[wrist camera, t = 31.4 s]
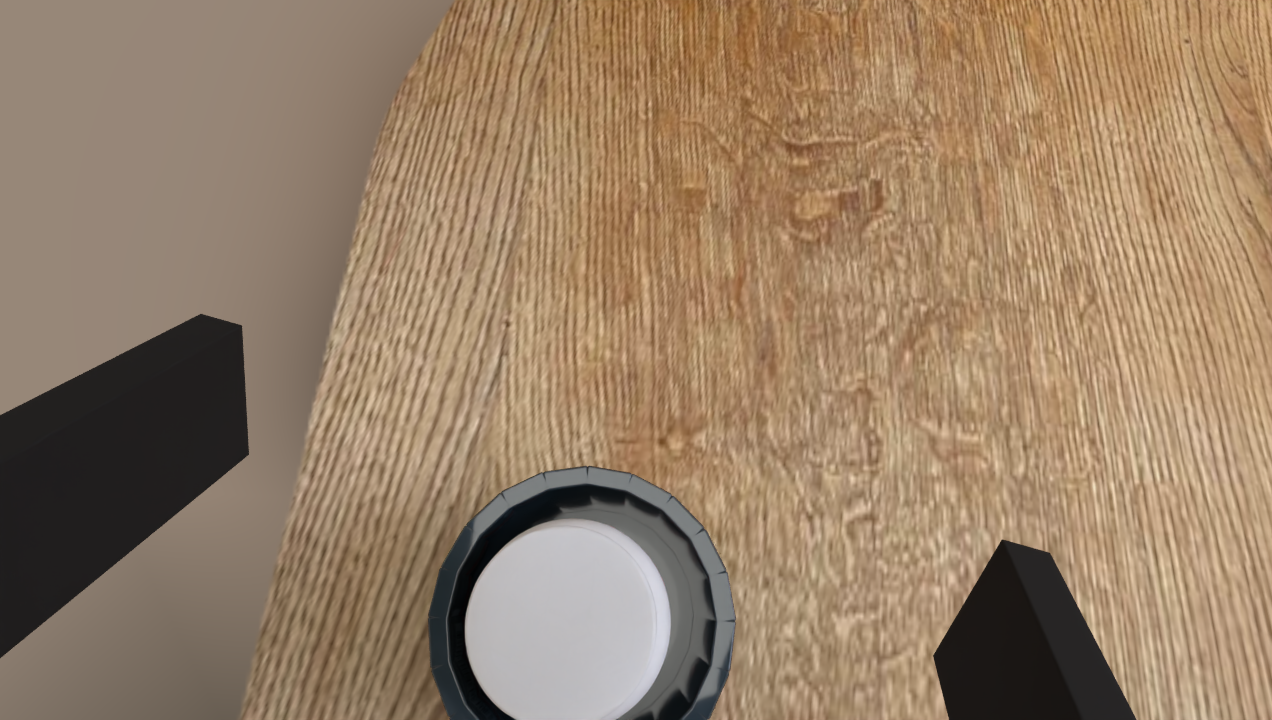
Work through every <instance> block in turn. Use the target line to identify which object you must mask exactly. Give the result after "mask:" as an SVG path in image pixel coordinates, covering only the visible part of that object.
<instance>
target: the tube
mask: <svg viewBox="0 0 1272 720" xmlns="http://www.w3.org/2000/svg"><path fill="white" fill-rule="evenodd" d="M569 518H576V519H586V520H592V521H596V522H600V523H604V524H607V525H609V526H612V527H614V528H616V529H617V530H619V531H620V532H622V533H624V534H625V535H627V536H628V537H629V538H631V539H632V540H633V541H634V542H635V543H637V544H638V545H639V546H640V547H641V548H642V549H643V550H644V551H645V552H646V554H647V555H648V556H649V557H650V559H651V560H652V562H653V563H654V565H655V566H656V568H657V570H658V572H659V574H660V576H661V577H662V579H663V582H664V584H665V588H666V591H667V595H668V600H669V606H670V616H671V631H670V638H669V645H668V649H667V653H666V656H665V659H664V662H663V665H662V667H661V670H660V672H659V674H658V676H657V678H656V679H655V681H654V683H653V684H652V686H651V687H650V689H649V690H648V692H647V693H646V694H645V695H644V696H643V698H642V699H641V700H640V701H639V702H638V703H637V704H636V705H635V706H634V707H632V708H631V709H630V710H629V711H628V712H626V713H625V714H623V715H622V716H621V717H619V718H618V719H616V720H707V719H709V718H710V717H711V714H712V712H713V710H714V708H715V705H716V703H717V701H718V699H719V696H720V694H721V692H722V689H723V687H724V685H725V683H726V680H727V678H728V676H729V671H730V668H731V660H732V651H733V643H734V634H735V626H736V622H735V620H736V617H735V611H734V606H733V600H732V594H731V589H730V583H729V578H728V573H727V572H726V568H725V566H724V564H723V562H722V560H721V558H720V556H719V554H718V552H717V550H716V548H715V546H714V544H713V542H712V540H711V538H710V536H709V535H708V533H707V531H706V529H704V526H703V525H702V524H701V523H700V522H699V521H698V520H697V519H696V518H695V517H694V516H693V515H692V514H691V513H690V512H689V511H688V510H687V509H686V508H685V507H684V506H683V505H682V504H681V503H680V502H679V501H678V500H677V499H676V498H675V497H674V496H672V495H671V493H669V492H667V491H665V490H663V489H661V488H659V487H657V486H655V485H653V484H652V483H650V482H648V481H646V480H644V479H642V478H640V477H638V476H636V475H635V474H631V473H628V472H622V471H616V470H611V469H605V468H599V467H594V466H588V467H587V466H581V467H574V468H567V469H560V470H553V471H545V472H544V473H543V472H541V473H539V474H537V475H535V476H533V477H531V478H529V479H527V480H524V481H522V482H520V483H518V484H516V485H514V486H512V487H510V488H508V489H506V490H504V491H502V492H501V493H499V494H498V495H497V496H496V497H495V498H494V499H493V500H492V501H491V502H489V503H488V504H487V505H486V506H485V507H484V508H483V509H482V510H481V511H480V512H479V513H478V514H476V515H475V516H474V517H473V518H472V519H471V520H470V521H469V522H468V523H467V526H465V527H464V528H463V530H462V531H461V533H460V535H459V536H458V538H457V540H456V542H455V543H454V545H453V547H452V548H451V550H450V552H449V553H448V555H447V557H446V558H445V560H444V562H443V563H442V566H441V567H442V568H440V570H439V574H438V578H437V582H436V586H435V590H434V594H433V598H432V602H431V606H430V610H429V614H428V617H429V618H428V630H429V650H430V667H431V668H432V669H431V672H432V675H433V677H434V680H435V683H436V685H437V688H438V691H439V693H440V696H441V699H442V701H443V704H444V707H445V709H446V712H447V715H448V716H449V717H450V720H516V719H514V718H512V717H511V716H509V715H508V714H506V713H504V712H503V711H502V710H501V709H499V708H498V707H497V706H496V705H495V704H494V703H493V702H492V701H491V700H490V698H489V697H488V696H487V695H486V694H485V692H484V691H483V689H482V688H481V686H480V685H479V683H478V681H477V679H476V677H475V675H474V673H473V671H472V668H471V665H470V662H469V659H468V655H467V649H466V643H465V618H466V611H467V607H468V603H469V599H470V596H471V593H472V591H473V588H474V586H475V583H476V582H477V580H478V578H479V576H480V574H481V573H482V571H483V570H484V568H485V567H486V566H487V564H488V563H489V562H490V561H491V559H492V558H493V557H494V556H495V555H496V554H497V553H498V552H499V551H500V550H501V549H502V548H503V547H504V546H505V545H506V544H507V543H508V542H510V541H511V540H512V539H514V538H515V537H516V536H518V535H519V534H521V533H523V532H524V531H526V530H528V529H530V528H532V527H534V526H537V525H539V524H542V523H545V522H549V521H553V520H558V519H569Z"/></svg>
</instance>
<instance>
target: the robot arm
mask: <svg viewBox="0 0 1272 720" xmlns="http://www.w3.org/2000/svg"><path fill="white" fill-rule="evenodd" d="M248 455H249V449H248V429H247V412H246V392H245V374H244V355H243V336H242V326H241V325H238V324H235V323H231V322H228V321H224V320H221V319H217V318H214V317H210V316H206V315H203V314H200V315H198V316H196V317H194V318H192V319H190V320H188V321H186V322H184V323H182V324H180V325H178V326H176V327H174V328H172V329H170V330H168V331H166V332H164V333H162V334H160V335H158V336H156V337H154V338H152V339H150V340H148V341H146V342H144V343H142V344H140V345H138V346H137V347H134V348H132V349H130V350H129V351H126V352H124V353H123V354H120V355H119V356H117V357H115V358H113V359H111V360H109V361H107V362H105V363H103V364H101V365H99V366H97V367H95V368H93V369H91V370H89V371H87V372H85V373H83V374H81V375H79V376H77V377H75V378H73V379H71V380H69V381H67V382H65V383H63V384H61V385H59V386H57V387H55V388H53V389H51V390H49V391H47V392H45V393H43V394H41V395H39V396H37V397H35V398H34V399H32V400H30V401H28V402H26V403H24V404H22V405H20V406H18V407H16V408H14V409H12V410H10V411H8V412H6V413H4V414H2V415H0V658H1V657H2V656H3V655H4V654H6V653H7V652H8V651H10V650H11V649H12V648H13V647H14V646H15V645H17V644H18V643H19V642H20V641H22V640H23V639H24V638H25V637H26V636H28V635H29V634H30V633H31V632H33V631H34V630H35V629H36V628H38V627H39V626H40V625H41V624H42V623H43V622H45V621H46V620H47V619H48V618H50V617H51V616H52V615H54V613H56V612H57V611H58V610H60V609H61V608H62V607H63V606H64V605H66V604H67V603H68V602H69V601H71V600H72V599H73V598H74V597H75V596H77V595H78V594H79V593H80V592H82V591H83V590H84V589H85V588H86V587H88V586H89V585H90V584H91V583H92V582H94V581H95V580H96V579H97V578H99V577H100V576H101V575H102V574H104V573H105V572H106V571H107V570H108V569H110V568H111V567H112V566H113V565H114V564H116V563H117V562H118V561H119V560H120V559H122V558H123V557H124V556H126V555H127V554H128V553H129V552H130V551H132V550H133V549H134V548H135V547H136V546H137V545H139V544H140V543H141V542H143V541H144V540H145V539H146V538H148V537H149V536H150V535H151V534H152V533H153V532H155V531H156V530H157V529H159V528H160V527H161V526H162V525H163V524H165V523H166V522H167V521H168V520H169V519H171V518H172V517H173V516H174V515H175V514H177V513H178V512H179V511H180V510H182V509H183V508H184V507H185V506H187V505H188V504H189V503H190V502H192V501H193V500H194V499H195V498H196V497H198V496H199V495H200V494H201V493H203V492H204V491H205V490H206V489H207V488H209V487H210V486H211V485H212V484H213V483H215V482H216V481H217V480H218V479H220V478H221V477H222V476H223V475H224V474H226V473H227V472H228V471H229V470H230V469H232V468H233V467H234V466H235V465H237V464H238V463H239V462H240V461H242V460H243V459H244V458H245V457H246V456H248ZM933 657H934V661H935V665H936V669H937V673H938V677H939V681H940V685H941V689H942V693H943V697H944V701H945V705H946V709H947V713H948V717H949V720H1136V718H1135V716H1134V714H1133V712H1132V710H1131V708H1130V706H1129V704H1128V702H1127V700H1126V698H1125V696H1124V695H1123V693H1122V691H1121V689H1120V687H1119V685H1118V683H1117V681H1116V679H1115V677H1114V675H1113V673H1112V671H1111V670H1110V668H1109V666H1108V664H1107V662H1106V660H1105V658H1104V656H1103V654H1102V652H1101V650H1100V648H1099V646H1098V645H1097V643H1096V641H1095V639H1094V637H1093V635H1092V633H1091V631H1090V629H1089V627H1088V625H1087V623H1086V621H1085V619H1084V618H1083V616H1082V614H1081V612H1080V610H1079V608H1078V606H1077V604H1076V602H1075V600H1074V598H1073V596H1072V594H1071V593H1070V591H1069V589H1068V587H1067V585H1066V583H1065V581H1064V579H1063V577H1062V575H1061V573H1060V571H1059V569H1058V568H1057V566H1056V564H1055V562H1054V560H1053V558H1052V556H1051V554H1050V553H1048V552H1045V551H1041V550H1038V549H1034V548H1031V547H1027V546H1023V545H1020V544H1016V543H1013V542H1009V541H1006V540H1001V542H1000V544H999V545H998V547H997V549H996V551H995V552H994V554H993V556H992V557H991V559H990V561H989V562H988V564H987V566H986V567H985V569H984V571H983V572H982V574H981V576H980V578H979V579H978V581H977V583H976V584H975V586H974V588H973V589H972V591H971V593H970V594H969V596H968V598H967V599H966V601H965V603H964V605H963V606H962V608H961V610H960V611H959V613H958V615H957V616H956V618H955V620H954V621H953V623H952V625H951V626H950V628H949V630H948V632H947V633H946V635H945V637H944V638H943V640H942V642H941V643H940V645H939V647H938V648H937V650H936V652H935V653H934V655H933Z"/></svg>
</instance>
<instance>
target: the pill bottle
mask: <svg viewBox="0 0 1272 720" xmlns="http://www.w3.org/2000/svg"><path fill="white" fill-rule="evenodd" d="M670 631H671V616H670V606H669V600H668V595H667V591H666V588H665V584H664V582H663V579H662V577H661V576H660V574H659V572H658V570H657V568H656V566H655V565H654V563H653V562H652V560H651V559H650V557H649V556H648V555H647V554H646V552H645V551H644V550H643V549H642V548H641V547H640V546H639V545H638V544H637V543H635V542H634V541H633V540H632V539H631V538H629V537H628V536H627V535H625V534H624V533H622V532H620V531H619V530H617V529H616V528H614V527H612V526H609V525H607V524H604V523H600V522H596V521H592V520H586V519H576V518H569V519H558V520H553V521H549V522H545V523H542V524H539V525H537V526H534V527H532V528H530V529H528V530H526V531H524V532H523V533H521V534H519V535H518V536H516V537H515V538H514V539H512V540H511V541H510V542H508V543H507V544H506V545H505V546H504V547H503V548H502V549H501V550H500V551H499V552H498V553H497V554H496V555H495V556H494V557H493V558H492V559H491V561H490V562H489V563H488V564H487V566H486V567H485V568H484V570H483V571H482V573H481V574H480V576H479V578H478V580H477V582H476V583H475V586H474V588H473V591H472V593H471V596H470V599H469V603H468V607H467V611H466V618H465V643H466V649H467V655H468V659H469V662H470V665H471V668H472V671H473V673H474V675H475V677H476V679H477V681H478V683H479V685H480V686H481V688H482V689H483V691H484V692H485V694H486V695H487V696H488V697H489V698H490V700H491V701H492V702H493V703H494V704H495V705H496V706H497V707H498V708H499V709H501V710H502V711H503V712H504V713H506V714H508V715H509V716H511V717H512V718H514V719H516V720H616V719H618V718H619V717H621V716H622V715H623V714H625V713H626V712H628V711H629V710H630V709H631V708H632V707H634V706H635V705H636V704H637V703H638V702H639V701H640V700H641V699H642V698H643V696H644V695H645V694H646V693H647V692H648V690H649V689H650V687H651V686H652V684H653V683H654V681H655V679H656V678H657V676H658V674H659V672H660V670H661V667H662V665H663V662H664V659H665V656H666V653H667V649H668V645H669V638H670Z"/></svg>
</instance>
